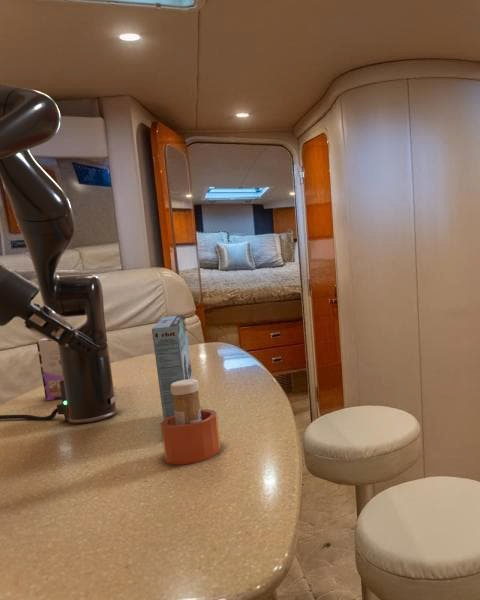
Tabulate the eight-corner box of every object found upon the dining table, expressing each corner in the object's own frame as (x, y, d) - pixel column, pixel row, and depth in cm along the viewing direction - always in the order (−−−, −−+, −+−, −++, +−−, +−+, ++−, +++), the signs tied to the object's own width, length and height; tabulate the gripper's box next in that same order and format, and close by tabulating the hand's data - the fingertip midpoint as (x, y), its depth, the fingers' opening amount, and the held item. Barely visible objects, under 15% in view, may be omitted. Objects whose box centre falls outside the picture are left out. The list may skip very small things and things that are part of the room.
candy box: (111, 388, 144) (104, 330, 142) (104, 393, 139) (96, 334, 137) (53, 394, 140) (45, 336, 138) (44, 401, 134) (35, 339, 132)
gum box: (191, 435, 105) (179, 325, 102) (163, 440, 103) (149, 328, 100) (197, 408, 122) (186, 314, 120) (173, 411, 120) (161, 316, 118)
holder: (154, 464, 91) (149, 427, 90) (185, 443, 100) (181, 409, 99) (202, 464, 90) (197, 426, 89) (229, 443, 99) (226, 409, 98)
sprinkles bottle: (207, 452, 94) (199, 381, 93) (179, 458, 92) (171, 386, 90) (203, 444, 98) (196, 376, 97) (177, 450, 96) (169, 381, 94)
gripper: (10, 270, 72) (116, 337, 80) (10, 268, 82) (104, 327, 91) (-35, 312, 69) (80, 377, 78) (-29, 304, 79) (71, 362, 88)
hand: (93, 350), depth 84 cm, fingers open, 8 cm apart
